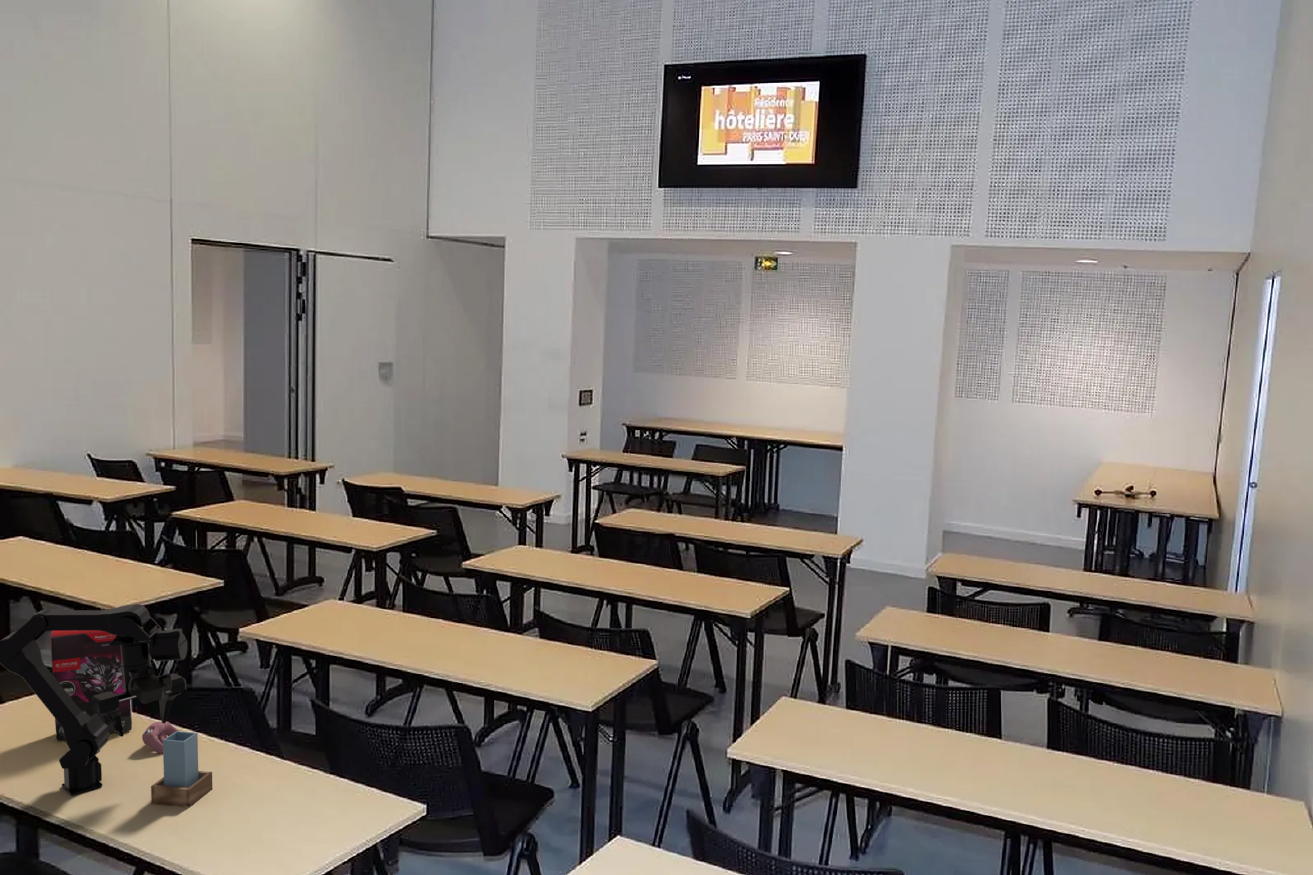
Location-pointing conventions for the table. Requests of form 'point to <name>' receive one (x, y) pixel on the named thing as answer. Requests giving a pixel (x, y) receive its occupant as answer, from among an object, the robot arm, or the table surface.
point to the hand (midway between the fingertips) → (142, 729)
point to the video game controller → (157, 735)
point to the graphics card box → (88, 672)
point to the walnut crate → (181, 791)
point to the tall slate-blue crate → (180, 759)
